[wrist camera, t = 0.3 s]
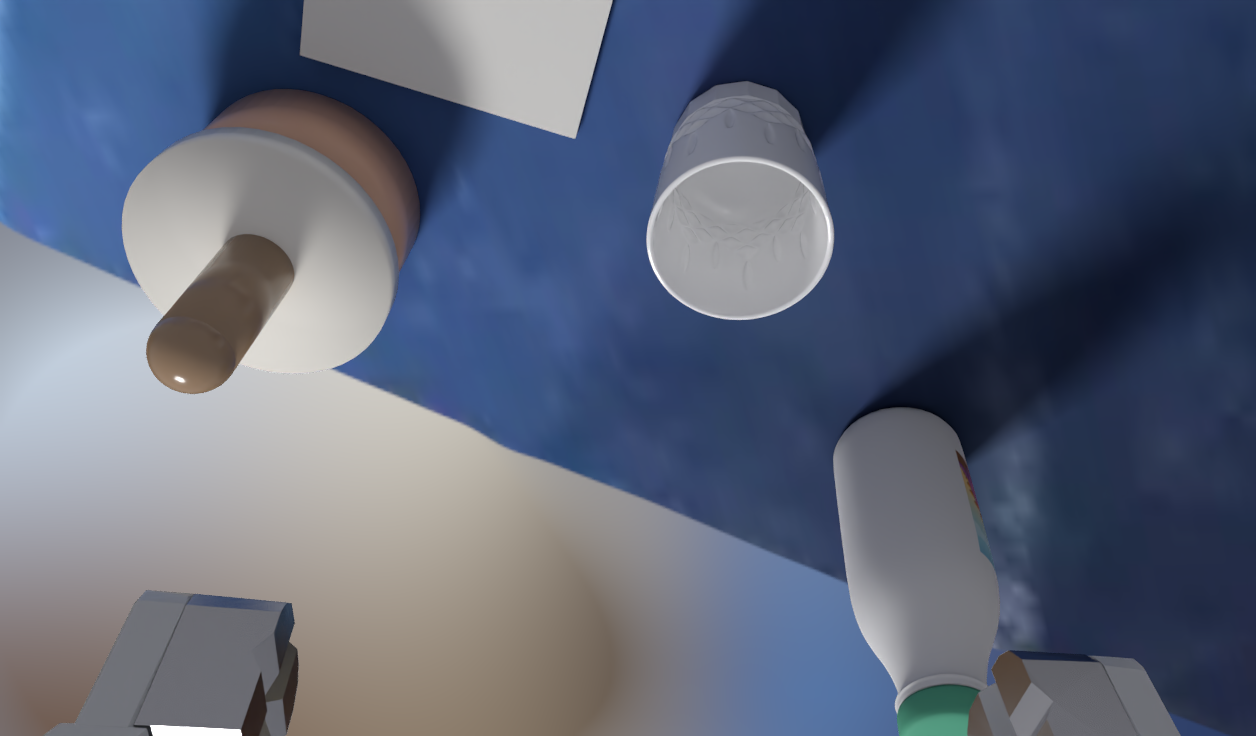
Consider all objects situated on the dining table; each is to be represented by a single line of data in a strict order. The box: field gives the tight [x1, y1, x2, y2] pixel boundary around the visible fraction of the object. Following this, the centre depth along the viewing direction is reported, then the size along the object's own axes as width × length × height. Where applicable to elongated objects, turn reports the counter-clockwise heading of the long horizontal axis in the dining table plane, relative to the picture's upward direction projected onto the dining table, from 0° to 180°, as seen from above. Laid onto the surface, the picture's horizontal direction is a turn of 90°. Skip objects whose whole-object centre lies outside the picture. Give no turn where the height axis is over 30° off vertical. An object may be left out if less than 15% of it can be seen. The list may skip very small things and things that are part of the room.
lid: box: [122, 127, 399, 394], centre depth 44 cm, size 13×13×10 cm
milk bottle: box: [833, 407, 1000, 736], centre depth 52 cm, size 8×8×20 cm
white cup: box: [647, 81, 834, 320], centre depth 45 cm, size 8×8×10 cm
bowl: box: [202, 89, 420, 272], centre depth 51 cm, size 12×12×6 cm
